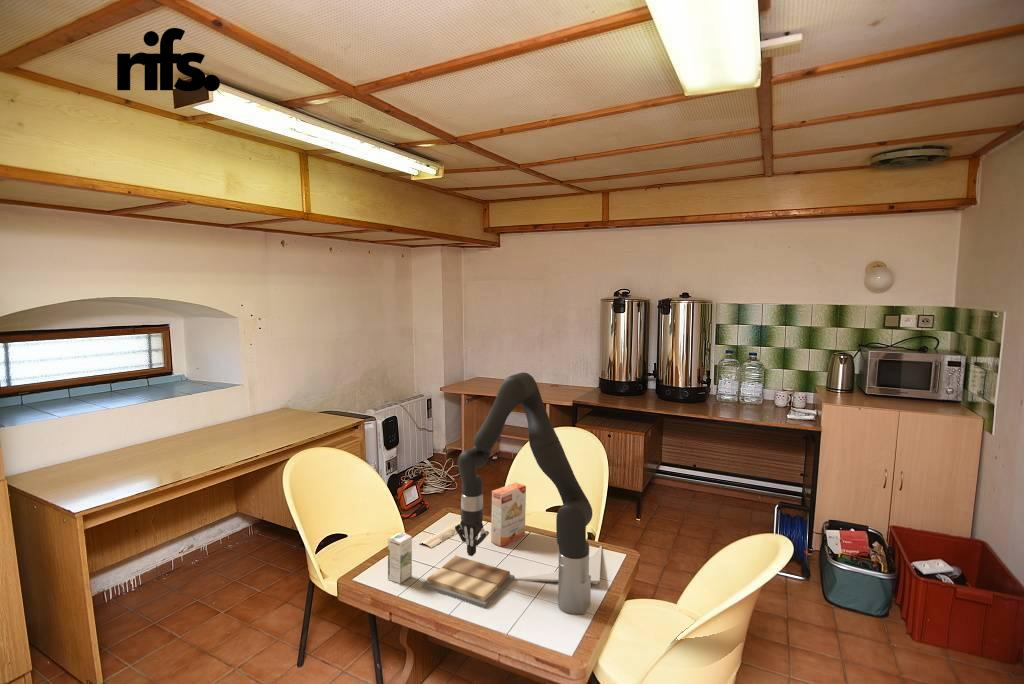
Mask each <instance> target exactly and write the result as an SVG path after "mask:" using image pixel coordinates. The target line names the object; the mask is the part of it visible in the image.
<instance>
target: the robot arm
mask: <svg viewBox="0 0 1024 684" xmlns="http://www.w3.org/2000/svg"><path fill="white" fill-rule="evenodd" d="M541 395H542V394H541V392H540V389H539V386H538V384H537V382H536V380H535V378H534V376H532V375H531V374H529V373H527V372H518V373H516V374H512V375H509V376H506V378H504V380H503V381H502V383H501V384H500V387H499V390H498V392H497V394H496V397H495V399H494V401H493V405H492V406H491V409H490V411H489V412H488V414H487V416H486V418H485V420H484V422H483V423H482V424H481V426H480V428H479V429H478V431H477V433H476V434H475V435H474V438H473V445H474V446H473V447H472V448H469V449H466V450H463V451H461V453H460V454H459V455H458V458H457V467H458V472H459V475H460V479H461V499H460V521H461V522H460V524H458V525H457V526H455V529H456V531H457V533H456V534H458V536H459V538H460V540H461V542H463V543H465V544H466V553H467V555H468V556H469V557H473V556H475V554H477V546H479V545H480V544H481V543H482V542H483V541H485V539H486V538H487V537H488V535H489V534H490V532H489V531H488V530H485V529H484V524H483V519H484V495H483V491H484V490H483V488H484V487H483V486H484V485H483V477H482V476H481V475H479V474H476V470H477V469H480V468H482V467H483V466H485V464H486V463H488V461H489V459H490V456H491V453H492V450H493V448H494V447H495V445H496V443H497V442H498V441H499V439H500V437H501V436H502V433H503V431H504V429H505V425H506V421H507V419H508V417H509V416H510V414H511V413H512V412H513V410H514V409H515V408H516V407H517V406H518V405H521V407H522V410H523V411H524V414H525V417H526V419H527V428H528V429H527V434H528V443H529V448H530V450H531V453H532V455H533V457H534V459H535V462H536V464H537V466H538V467H539V469H540V470H541V471H542V472H543V473H544V475H545V476H547V478H548V479H550V481H552V483H553V484H554V485H555V487H556V490H557V492H558V494H559V496H560V499H561V501H562V505H561V506H560V507H559V509H557V512H556V513H557V514H556V521H555V528H556V543H557V546H558V571H559V573H558V582H557V583H558V586H557V587H558V589H557V592H558V593H557V595H558V596H557V603H558V604H557V606H558V608H559V610H561V611H562V612H564V613H566V614H570V615H585V614H586V612H587V611H588V609H589V608H590V606H591V598H592V596H591V595H592V594H591V593H592V592H591V591H592V590H591V589H592V585H591V584H592V583H591V575H589V558H590V545H589V542H588V541H587V538H586V537H587V533H586V532H587V529H586V528H587V526H588V525H589V524H590V523H591V521H592V518H593V508H592V505H591V503H590V501H589V500H588V498H587V495H586V494H585V493H584V491H583V489H582V486H581V485H580V483H579V482H578V479H577V478H576V476H575V474H574V471H573V469H572V466H571V464H570V462H569V460H568V458H567V455H566V453H565V450H564V448H563V446H562V443H561V441H560V438H559V437H558V435H557V433H556V431H555V428H554V425H553V423H552V421H551V419H550V416H549V415H548V412H547V410H546V407H545V404H544V401H543V398H542V396H541Z"/></svg>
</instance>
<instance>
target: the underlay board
mask: <svg viewBox="0 0 1024 684" xmlns="http://www.w3.org/2000/svg"><path fill="white" fill-rule="evenodd" d="M514 578H516V576H515V575H514V574H510V576H509V577H508V578H507V579H506V580H505V581H504V582H503V583H502V584H501V585H500V587H499V588H497V590H496V591H495V592H494V593H493V594H492V595H491V596H490V597H488V598H487V599H486V600H485V601H481V600H478V599H475V598H472V597H469V596H466V595H463V594H460V593H457V592H454V591H451V590H448V589H445V588H442V587H439V586H436V585H433V584H430V583H427V580H425V581H424V582H423V583H422V588H425V589H426V590H430V591H433V592H437V593H439V594H443V595H444V594H445V595H444V596H447V595H448V596H447V597H450V596H451V597H450V598H453V597H454V599H456V598H457V600H459V599H460V600H459V601H462V600H463V602H465V601H466V602H465V603H468V602H469V603H468V604H471V603H472V604H471V605H474V606H477V607H479V606H480V608H482V607H483V608H482V609H485V607H486V606H487V605H488V604H489V605H490V604H491V603H492V602H493V601H494V600H495V599H496V598H497V597H498V596H499V595H500V594H501V593H503V591H504V590H505V589H507V587H508V586H509V585H510V584H511V583H513V582H514ZM489 605H488V606H489ZM488 606H487V607H488ZM487 607H486V608H487Z"/></svg>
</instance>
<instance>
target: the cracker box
mask: <svg viewBox="0 0 1024 684" xmlns="http://www.w3.org/2000/svg"><path fill="white" fill-rule="evenodd" d="M526 496H527V486H526V485H525V484H522V483H520V482H513V483H510V484H508V485H505V486H502V487H499V488H497V489H494V490H491V520H490V521H491V529H490V530H491V532H490V534H491V535H490V536H491V537H490V539H491V540H490V542H491V543H492V544H494V545H496V546H498V547H500V548H502V547H503V546H505V545H508V544H510V543H512V542H514V541H516V540H519V539H520V538H522V537H525V536H526V535H525V534H526V505H527V503H526V501H527V497H526ZM518 538H519V539H518Z"/></svg>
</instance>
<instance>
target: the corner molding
mask: <svg viewBox="0 0 1024 684" xmlns="http://www.w3.org/2000/svg"><path fill="white" fill-rule="evenodd" d="M602 547H603V546H602V545H599V547H598V549H597V550H596V551H595V553H593V555H591V556H589V575H591V584H592V585H598V583H600V582H601V580H600V579H601V567H602V566H601V565H602V564H601V563H602V549H603V548H602ZM558 573H559V570H556V571H552V572H548V573H547V572H546V573H543V574H537V575H528V576H518V577H516V576H515V578H514V580H515V581H525V582H527V581H528V582H530V581H531V582H536V581H537V582H549V583H550V582H557V583H558ZM514 580H513V581H514Z"/></svg>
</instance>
